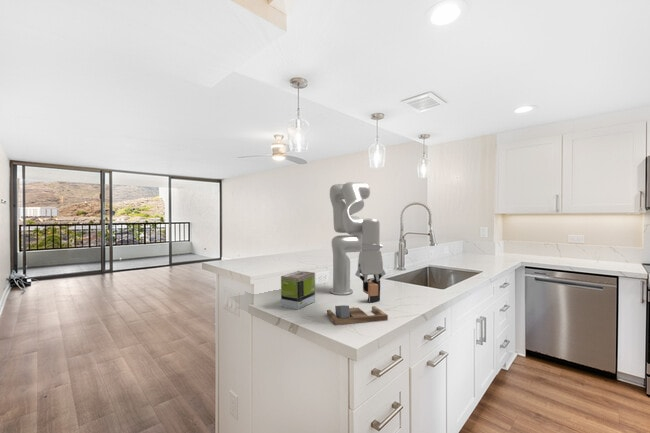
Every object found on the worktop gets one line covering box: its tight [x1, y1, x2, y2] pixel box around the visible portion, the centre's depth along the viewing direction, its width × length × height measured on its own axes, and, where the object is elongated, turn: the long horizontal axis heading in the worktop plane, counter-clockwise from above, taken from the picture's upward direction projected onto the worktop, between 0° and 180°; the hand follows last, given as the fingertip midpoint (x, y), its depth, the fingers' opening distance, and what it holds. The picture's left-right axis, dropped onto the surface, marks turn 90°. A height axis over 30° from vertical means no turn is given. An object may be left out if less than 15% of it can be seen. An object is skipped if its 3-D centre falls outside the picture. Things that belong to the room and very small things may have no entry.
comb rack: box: [326, 305, 389, 326], centre depth 126 cm, size 12×22×2 cm, turn 105°
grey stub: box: [334, 304, 350, 318], centre depth 123 cm, size 8×4×4 cm, turn 15°
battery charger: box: [367, 277, 381, 303], centre depth 150 cm, size 7×4×11 cm, turn 125°
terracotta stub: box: [362, 281, 378, 296], centre depth 128 cm, size 8×4×4 cm, turn 15°
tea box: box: [280, 270, 316, 310], centre depth 144 cm, size 15×10×15 cm
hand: (370, 290), depth 128 cm, fingers closed on terracotta stub, 3 cm apart
